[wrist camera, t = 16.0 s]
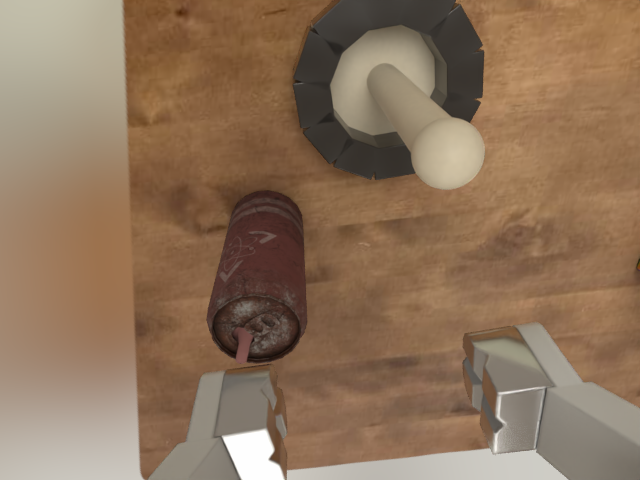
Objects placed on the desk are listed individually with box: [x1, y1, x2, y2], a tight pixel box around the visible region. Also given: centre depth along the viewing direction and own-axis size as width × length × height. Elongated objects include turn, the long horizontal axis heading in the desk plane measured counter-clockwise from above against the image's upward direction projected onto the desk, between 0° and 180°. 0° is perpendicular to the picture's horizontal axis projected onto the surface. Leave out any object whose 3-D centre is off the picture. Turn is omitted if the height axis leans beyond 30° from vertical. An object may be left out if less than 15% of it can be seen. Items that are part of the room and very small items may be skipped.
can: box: [207, 191, 307, 364], centre depth 32 cm, size 6×6×14 cm
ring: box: [293, 0, 484, 180], centre depth 30 cm, size 12×12×3 cm
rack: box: [311, 23, 485, 190], centre depth 25 cm, size 9×9×18 cm
